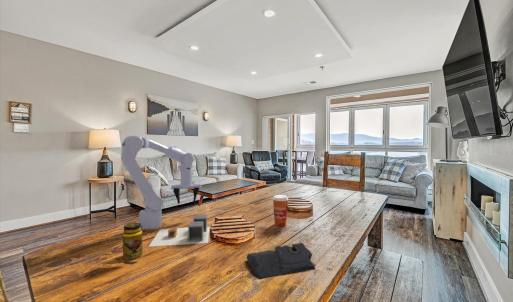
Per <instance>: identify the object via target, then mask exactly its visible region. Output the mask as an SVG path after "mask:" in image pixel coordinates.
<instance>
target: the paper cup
mask: <svg viewBox="0 0 513 302" xmlns="http://www.w3.org/2000/svg"><path fill="white" fill-rule="evenodd" d="M272 201H273V202H272V203H273V220H274V221H273V222H274V226H276V227H281V228H283V227H286V225H287V216H288V215H287V214H288V204H289V203H288V202H289V197H288V196H287V195H285V194H276V195H275V194H274V195H273V197H272Z"/></svg>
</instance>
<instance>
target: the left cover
mask: <svg viewBox="0 0 513 302" xmlns="http://www.w3.org/2000/svg"><path fill="white" fill-rule="evenodd" d="M187 228H188V241H190V239H191V236H201V241H203V236H204V221H197V222H194V221H189V224H188V226H187Z"/></svg>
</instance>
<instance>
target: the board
mask: <svg viewBox="0 0 513 302" xmlns="http://www.w3.org/2000/svg"><path fill="white" fill-rule="evenodd" d="M210 227H211V226H210V225H209V226H208V225H207V231H206V232H205V228H204V236H203V241H201V236H191V239H190V241H188V227H177V235H176V237H170V238H168V230H169V228H160V229H159V230H158V232H157V234H156V235H155V236H154V238H153V239H152V241H151V242H150V244H149V245H148V248H149V247H150V248H151V247H164V246H179V245H180V246H181V245H194V244H196V245H197V244H208V243H209V239H210Z"/></svg>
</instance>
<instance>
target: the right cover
mask: <svg viewBox="0 0 513 302" xmlns="http://www.w3.org/2000/svg"><path fill="white" fill-rule="evenodd" d="M197 221H204V228H205V232H206V231H207V227H208V214H206V213H205V214H194V216H193V222H197Z"/></svg>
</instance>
